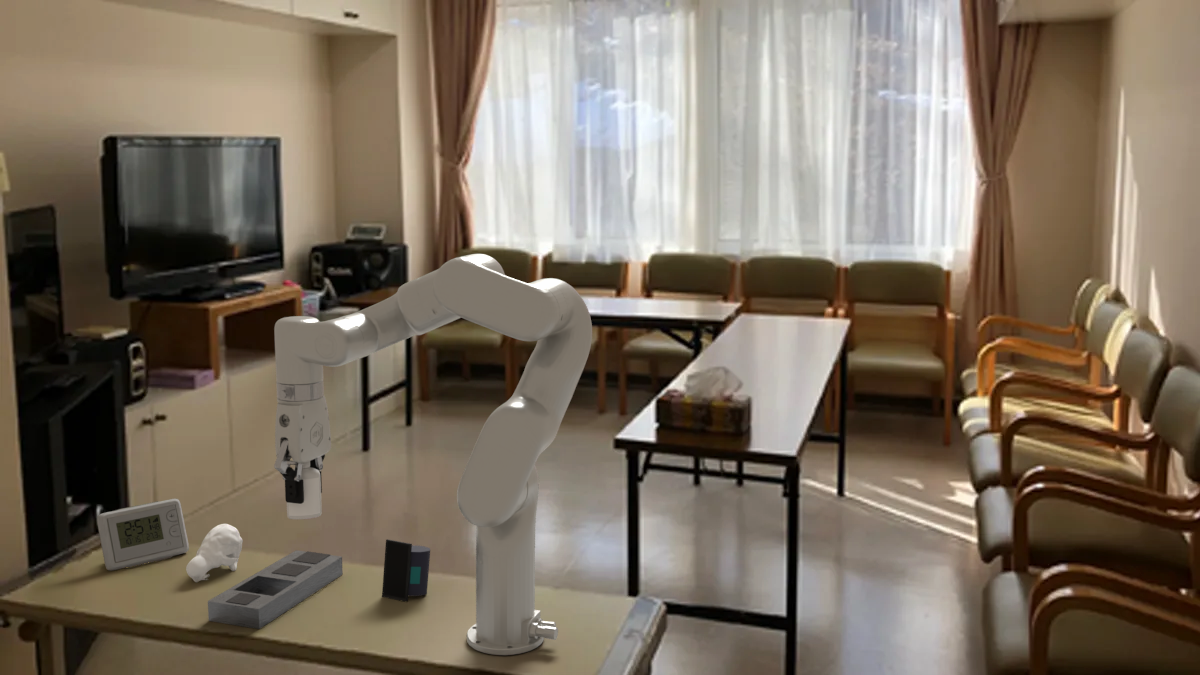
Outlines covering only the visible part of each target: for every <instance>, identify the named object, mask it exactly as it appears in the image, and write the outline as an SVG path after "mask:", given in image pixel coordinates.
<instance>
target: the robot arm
mask: <svg viewBox="0 0 1200 675" xmlns="http://www.w3.org/2000/svg"><path fill="white" fill-rule="evenodd" d="M461 318H462V319H464V320H466V321H468V322H471V323H473V324H477V325H479V326H481V327H485V328H487V329H489V330H491V331H494V332H497V333H499V334H502V335H505V336H507V337H510V338H513V339H515V340H519V341H522V342H523V341H524V342H536V345H535V347H534V348H533V349H534V350H533V351H532V352H531V354H530V357H529V359H528V360H527V362H526V364H525V366H524V367H525V368H524V369H523V370H524V371H523V372H522V375H521V377H520V380H519V382H518V384H517V385H516V388H515V389H514V392H513V394H512V396H511V397H509V399H508V400H506V401H505V402H503V403H502V404H501V405H500V406H498V407H496V409H494V410H493V411H492V412H491V414H490V415H489V416H488V417H487V419H486V421H485V422H484V424H483V427H482V428H481V430H480V433H479V435H478V437H477V440H476V442H475V444H474V446H473V449H472V451H471V454H470V456H469V458H468V460H467V462H466V465H465V466H464V469H463V472H462V474H461V477H460V479H459V482H458V485H457V491H456V500H457V501H456V502H457V506H458V509H459V511H460V513H461V515H462V516H463V517H464V519H466V520H467V521H468V522H469V523H470V524H472V525H474V526H476V530H475V531H476V533H475V609H476V610H475V611H476V612H475V613H476V614H475V616H476V617H475V618H476V619H475V623H474V624H473V625H472V626H470V628H468V630H467V632H466V641H467V642H466V643H468V645H469V646H470V648H472V649H474V650H476V651H477V652H481V653H483V654H488V655H495V656H512V655H520V654H525V653H528V652H530V651H533V650H534V649H536V648H538V647H539V646H541V645H542V643H543V642H544V640H545V639H547V640H554V641H556V640H557V639H558V635H559V634H558V633H559V629H558V627H557V623H556V622H555V621H550V620H548V621H546V620H543V619H542V618H541V610H538V609H536V607H535V606H536V605H535V602H536V596H535V595H536V591H535V590H536V588H535V586H536V579H535V578H536V576H535V575H536V565H535V564H536V523H537V521H536V520H537V510H538V503H539V502H538V501H539V493H540V492H539V490H540V477H539V472H538V469H537V466H536V463H537V460H538V458H539V457H540V455H541V454H542V453H543V452H544V451H545V450H546V449H548V447H550V446H551V444H552V443H553V442H554V440H555V439H556V437H557V435H558V432H559V429H560V427H561V423H562V421H563V419H564V416H565V414H566V411H567V409H568V407H569V405H570V402H571V400H572V398H573V397H574V396H573V395H574V394H575V390H576V387H577V386H578V383H579V381H580V378H581V376H582V374H583V372H584V368H585V366H586V363H587V360H588V358H589V354H590V351H591V347H592V341H593V325H592V324H593V323H592V320H591V314H590V312H589V309H588V306H587V304H586V301H584V299H583V297H582V296H581V295H580V294H579V292H578V291H577V290H576V289H575V288H574V286H572V285H570V284H569V283H567V282H566V281H564V280H561V279H559V278H553V277H549V278H547V277H546V278H541V279H537V280H534V281H532V282H528V283H527V282H525V281H521V280H519V279H515V278H513V277H510V276H507V275H506V274H505V270H504V269H503V267H502V265H501V264H500V263H499V262H498V261H497V260H496V259H495V257H492V256H490V255H488V254H485V253H472V254H467V255H461V256H457V257H454V258H452V259H449V260H447V261H446V262H444V263H443V264H442V265H441V266H440V267H439V268H438V269H435V270H433V271H431V272H429V273H426V274H424V275H422V276H420V277H419V276H418V277H417V278H414V279H412V280H410V281H408V282H405V283H404V284H402V285H401V286H399V287H398V289H397V292H395V293H394V294H393V295H391V296H389V297H388V298H385V299H383V300H381V301H379V302H377V303H375V304H373V305H370V306H368V307H365V308H363V309H361V310H359V311H355V312H353V313H351V314H347V315H343V316H339V317H337V318H331V319H328V320H325V321H320V320H319V319H318V318H316V317H313V316H308V315H307V316H303V315H298V316H297V315H296V316H295V315H293V316H284V317H282V318H280V319H278V320H277V321H276V322H275V324H274V329H273V330H274V354H275V355H274V356H275V358H274V359H275V376H276V377H275V380H276V382H275V383H276V384H275V385H276V386H275V387H276V402H277V405H276V412H275V413H276V414H275V427H274V431H275V432H274V443H275V444H274V447H275V449H274V450H275V455H276V456H275V457H276V458H275V461H274V466H273V468H274V469H275V470H276V471H277V472H279V473H280V475H281V477H282V479H283V480H284V496H285V502H286V503H287V502H289V503H297V504H302V503H303V502H304V485H303V480H300V479H301V471H302V464H304V463H307V462H309V461H310V467H311V468H315V469H317V470H319V472H320V480H321V494H322V493H323V488H322V487H323V485H322V484H323V483H322V470H323V469H324V459H325V458H326V454H327V453H329V451H331V449H332V437H331V423H330V422H331V421H330V414H329V407H328V403H327V399H326V396H325V390H324V386H325V385H324V384H325V383H324V366H325V367H330V368H331V367H333V368H335V367H341V366H345V365H347V364H349V363H352V362H354V361H357V360H359V359H363V358H366V357H368V356H370V355H372V354H375V353H377V352H380V351H381V350H384V349H386V348H389V347H390V346H393V345H395V344H398V343H400V342H402V341H405V340H407V339H409V338H412V337H414V336H422V335H424V334H427V333H429V332H432V331H435V329H438V328H441V327H442V326H445V325H448V324H450V323H452V322H454V321H456V320H459V319H461ZM291 459H292V460H291ZM291 465H292V466H294V468H292V467H291ZM293 469H295V471H294V470H293Z"/></svg>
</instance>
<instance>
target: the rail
mask: <svg viewBox="0 0 1200 675" xmlns="http://www.w3.org/2000/svg"><path fill="white" fill-rule="evenodd" d="M342 575H343V556H341V555H333V554H328V553H324V552H323V553H322V552H316V551H305V550H296V549H295V550H294V551H292V552H291V553H289V554H287V555H285V556H283V557H282V558H280V559H279V560H277V561H275V562H273V563H272V564H270V565H268V566H266V567H265V568H263V569H261V570H260V571H257V572H256V573H254V574H253V575H250V576H249V577H247V578H245V579H244V580H242V581H240V582H239V583H236V584H235V585H233V586H231V587H230V588H228V589H226V590H224V591H223V592H221V593H219V594H217V595H216V596H214V597H212V598H211V599H209V600H207V611H208V613H207V616H208V621H209V622H214V623H220V624H227V625H232V626H238V627H239V626H240V627H245V628H251V629H257V630H260V629H262V628H263V627H265V626H266V625H268V624H270V623H271V622H273V620H275V619H278V618H279V617H280V616H281V615H283V614H285V613H286V612H288V611H289V610H290V609H292V608H294V607H295V606H297V605H298V604H300V603H301V602H303V601H304V600H306V599H307V598H309V597H311V596H312V595H314V594H315V593H317V592H318V591H320V590H321V589H323V588H324V587H325V586H327V585H328V584H330V583H331V582H333V581H335V580H337V579H338V578H339V577H341V576H342Z"/></svg>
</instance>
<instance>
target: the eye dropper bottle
mask: <svg viewBox="0 0 1200 675" xmlns="http://www.w3.org/2000/svg"><path fill="white" fill-rule="evenodd" d="M292 469H293V470H294V471H295V468H292ZM319 471H320V470H317V469H315V468H311V467H310V461H309V462H307V463H304V464H302V471H301V479H300V480H303V485H304V502H303V503H302V504H297V503H289V502H286V517H287V518H288V519H289V520H309V519H315V518H319V517H321V515H323V514H322V512H323V510H322V493H321V480H320V472H319Z"/></svg>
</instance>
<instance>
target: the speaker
mask: <svg viewBox="0 0 1200 675" xmlns="http://www.w3.org/2000/svg"><path fill="white" fill-rule="evenodd" d="M384 550H385V551H384V563H383V578H382V592H381V597H382V598H385V599H387V598H388V599H391V600H396V601H400V600H402V601H401V602H405V601H408V602H409V597H419V596H425V595H427V594H428V585H429V571H430V560H431V559H430V558H431V548H430V547H427V546H424V545H414V544H413V543H410V542H409V543H408V542H404V541H398V540H393V539H385V548H384Z"/></svg>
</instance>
